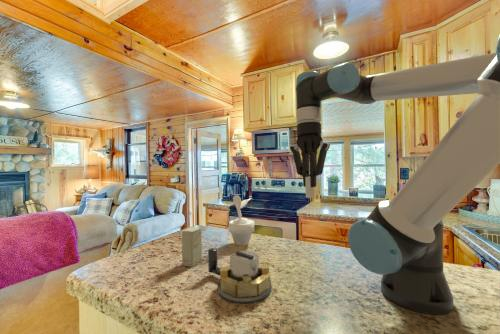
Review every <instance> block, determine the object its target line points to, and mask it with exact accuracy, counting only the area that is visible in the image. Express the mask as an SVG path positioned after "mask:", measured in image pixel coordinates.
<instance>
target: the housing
mask: <svg viewBox="0 0 500 334" xmlns="http://www.w3.org/2000/svg"><path fill="white" fill-rule="evenodd" d="M259 256H260V255H259V254H258V253H257V252H255V251H252V250H240V251H239V250H237V251H235V252H233V253H231V255H230V256H229V265H230V278H232V279H234V280H237V281H243V276H250V277H251V280H255V279H257V278H258V277H259V264H260V261H259V260H260V257H259ZM272 289H273V286H272V282H271V281H270V287H269V288H268V289H267V290H265V291H264V292H263V293H261V294H260V295H258V294H257V296H249V297H237V296H236V297H234V296H232V295H230V294H227V293H225V292H223V291H221V290H220V281H219V282H218V284H217V293H218V295H219V297H220V298H221V299H223V300H225V301H227V302H229V303H232V304H238V305H247V304H249V305H250V304H255V303H258V302H259V303H260V302H262V301H263V300H265V299H266V298H268V297H269V296H270V295H271V293H272Z"/></svg>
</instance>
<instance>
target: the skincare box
mask: <svg viewBox="0 0 500 334" xmlns="http://www.w3.org/2000/svg"><path fill="white" fill-rule="evenodd" d="M181 244H182V245H181V246H182V247H181V250H182V251H181V253H182V255H181V256H182V257H181V258H182V259H181V260H182V261H181V262H182V263H181V265H182V266H184V267H190V268H192V267H194V266H196V265H198V264H199V263H200V262H202V260H203V259H202V258H203V257H202V250H203V249H202V245H203V243H202V227H197V226H196V227H195V226H191V227H189V228H186V229H184V230H182V231H181Z"/></svg>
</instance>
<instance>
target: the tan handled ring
mask: <svg viewBox="0 0 500 334" xmlns="http://www.w3.org/2000/svg"><path fill="white" fill-rule="evenodd" d="M207 251H208V252H207V253H208V255H207V257H208V262H207V264H208V265H207V266H208V267H207V268H208V272H209V273H210V274H212V273H213V274H215V275H217V276H219V280H220V281H219V282H220V290H221V291H223V292H225V293H227V294H230V295H232V296H234V297H236V296H237V297H249V296H257V294H258V295H260V294H261V293H263V292H264V291H265V290H267V289H268V288H269V287H270V282H271V273H270V267H269V265H267V264H265V265H263V264H260V263H259V277H258V278H257V279H255V280H251V277H250V276H243V281H237V280H234V279H232V278H230V264H228V265H227V266H225V267H218V249H217V248H216V247H215V248H214V247H213V248H209V249H208V250H207Z"/></svg>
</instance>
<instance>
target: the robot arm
mask: <svg viewBox="0 0 500 334" xmlns="http://www.w3.org/2000/svg"><path fill="white" fill-rule="evenodd" d="M295 82H296V83H295V84H296V85H295V95H296V96H295V97H296V99H295V100H296V101H295V103H296V123H297V125H296V136H297V137H296V138H297V139H296V141H295V143H294V145H291V146H290V147H289V149H290V152H291V153H292V156H293V160H294V161H293V162H294V166H295V168H296V173H297V175H298V176H302V180H303V181H302V183H303V184H302V185H303V187H305V198H306V199H311V198H315V188H316V187H317V176H320V175H323V172H324V166H325V162H326V159H327V158H326V157H327V153H328V150H329V148H331V147H330V146H331V144H330V143H329V142H328V143H327V142H326V141H324V139H323V137H322V123H321V121H322V113H321V112H322V109H321V108H322V106H321V105H322V101H326V100H328V99H329V100H330V99H331V98H337V99H342V100H346V101H350V102H355V103H358V104H360V105H371V104H374V103H376V102H381V101H396V100H406V99H407V100H408V99H418V98H431V97H432V98H433V97H434V98H435V97H446V96H459V95H471V94H472V95H473V94H478V95H477V96H476V97H475V98H474V99H473V101H472V102H471V103H470V104H469V105H468V107H467V108H466V109H465V111H464V112H463V113H462V114H461V115H460V116H459V117H458V119H457V120H456V121H455V123H453V125H451V127H450V128H449V130H448V131H447V132H446V133H445V135H444V136H443V137H442V138H441V139H440V141H439V142H438V143H437V144H436V145H435V147H433V149H432V150H431V152H430V153H429V154H428V155H427V156H426V157H425V159H424V160H423V161H422V162H421V164H419V166H418V167H417V168H416V170H415V171H414V172H413V173H412V175H410V177H408V179H407V180H406V182H405V183H403V185H402V187H400V189H399V190H398V191H397V192H396V194H395V195H394V196H393V197H392V198H391V199H387V200H386V199H383V200H381V201H379V203H377V205H376V206H375V207H374V208H373V210H372V211H371V212H370V214H369V215H368V216H367V217H366V218H360V219H358V220H357V221H355V222H353V223H352V224H351V225H350V227H349V229H348V233H347V241H348V243H349V248H350V252H351V254H352V255H353V257H354V258H355V260H356V261H357V262H358V263H359V264H360V266H362V267H363V268H364V269H366V270H367V271H369V272H371V273H373V274H377V275H379V276H380V275H381V280H380V290H381V293H382V294H383V295H384V296H385V297H386V298H387V299H388V300H389V301H392V302H394V304H396V305H398V306H401V307H403V308H405V309H409V310H411V311H414V312H418V313H422V314H429V315H446V314H450V313H451V312H452V311H453V310H454V305H455V304H454V295H453V294H452V291H451V288H450V286H449V283H448V281H447V278H446V275H445V272H444V227H445V226H444V223H443V219H444V218H445V217H446V216H447V215H448V214H450V212H451V211H452V210H453V209H455V207H456V206H458V205H459V203H461V202H462V200H464V199H465V198H466V197H467V196H468V195H469V194H470V193H471V192H473V190H474V189H475V188H476V187H478V185H479V184H480V183H482V182H483V180H484V179H486V177H487V176H489V175H490V174H491V173H492V172H493V171H494V170H495V169H496V168H497V167H498V166H499V165H500V34H499V35H498V38H497V42H496V46H495V52H494V53H487V54H481V55H475V56H470V57H465V58H459V59H455V60H448V61H443V62H438V63H431V64H428V65H425V64H424V65H421V66H420V65H419V66H415V67H409V68H404V69H399V70H398V69H397V70H394V71H393V70H392V71H387V72H383V73H377V74H371V75H367V76H366V75H362V74H360V71H359V69H358V67H356V66H355V64H354V63H352V62H349V61H348V62H344V63H342V64H338V65H335V66H333V67H331V68H328V69H327V70H326V71H324V72H322V73H319V71H315V70H307V71H304V72H301V73H299V74H298V75H297V76H296V81H295ZM319 148H320V149H319ZM318 150H319V153H318ZM300 152H301V153H300ZM317 155H318V158H317Z"/></svg>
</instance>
